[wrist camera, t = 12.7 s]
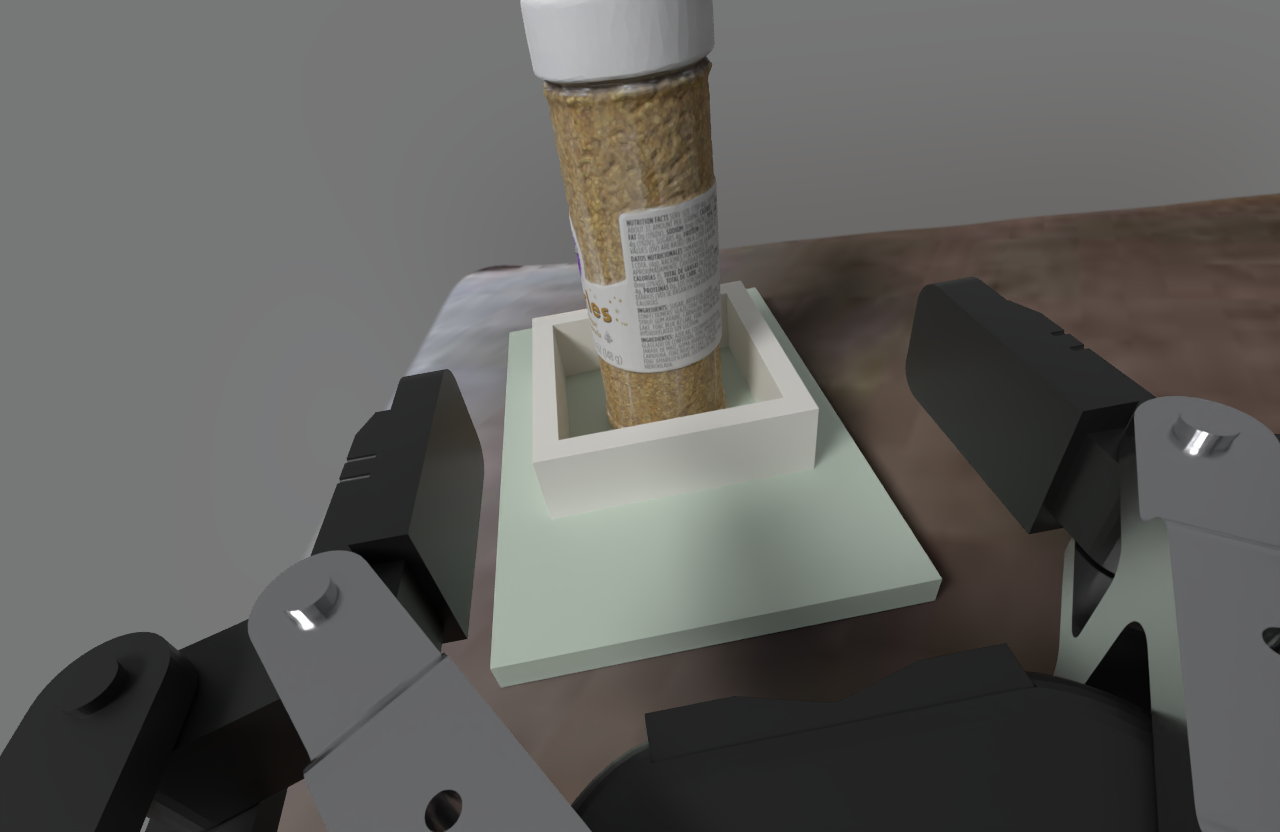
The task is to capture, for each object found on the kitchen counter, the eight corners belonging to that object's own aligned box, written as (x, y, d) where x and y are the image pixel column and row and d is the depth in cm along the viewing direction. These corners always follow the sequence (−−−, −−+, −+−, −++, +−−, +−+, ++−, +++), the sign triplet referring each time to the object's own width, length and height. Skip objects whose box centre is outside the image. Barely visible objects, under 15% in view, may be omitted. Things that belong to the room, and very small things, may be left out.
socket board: (755, 305, 30) (755, 238, 27) (935, 600, 16) (962, 516, 14) (515, 349, 29) (495, 285, 27) (500, 687, 16) (459, 615, 14)
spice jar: (595, 395, 24) (504, -18, 15) (702, 365, 25) (672, -47, 16) (626, 470, 20) (531, -11, 12) (750, 432, 21) (744, -49, 13)
